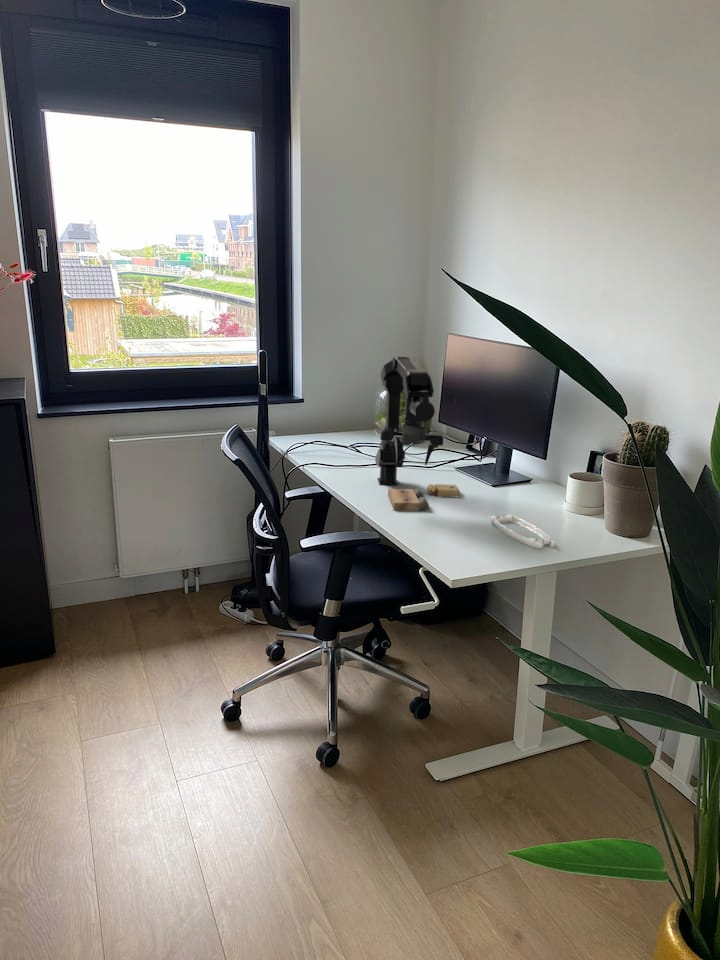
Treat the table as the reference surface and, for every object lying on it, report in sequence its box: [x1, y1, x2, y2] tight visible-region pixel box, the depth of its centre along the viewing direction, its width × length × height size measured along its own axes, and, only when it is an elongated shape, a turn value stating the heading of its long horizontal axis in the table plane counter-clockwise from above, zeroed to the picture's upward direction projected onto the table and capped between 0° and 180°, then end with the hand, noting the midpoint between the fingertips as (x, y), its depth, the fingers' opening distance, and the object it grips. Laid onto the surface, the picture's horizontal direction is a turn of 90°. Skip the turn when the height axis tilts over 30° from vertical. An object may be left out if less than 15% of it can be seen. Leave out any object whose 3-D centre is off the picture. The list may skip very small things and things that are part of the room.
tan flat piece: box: [387, 487, 430, 511], centre depth 228 cm, size 11×14×3 cm
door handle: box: [489, 513, 556, 550], centre depth 206 cm, size 3×10×25 cm
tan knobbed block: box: [426, 483, 461, 497], centre depth 239 cm, size 10×6×3 cm, turn 95°
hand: (410, 463), depth 221 cm, fingers open, 9 cm apart
